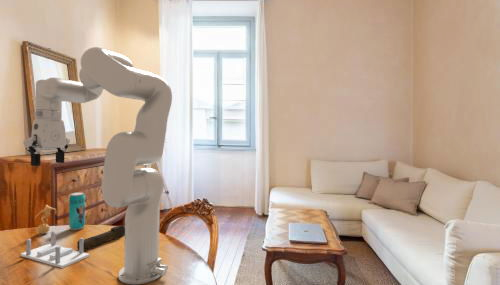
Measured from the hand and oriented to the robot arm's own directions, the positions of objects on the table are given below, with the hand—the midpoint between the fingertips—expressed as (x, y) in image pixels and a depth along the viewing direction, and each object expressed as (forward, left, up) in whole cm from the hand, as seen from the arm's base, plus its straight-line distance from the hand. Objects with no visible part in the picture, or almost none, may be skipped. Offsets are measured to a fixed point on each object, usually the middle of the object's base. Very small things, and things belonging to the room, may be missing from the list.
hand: (48, 164), depth 100 cm
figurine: (+13, -8, -30) cm, 34 cm away
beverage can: (+8, -18, -30) cm, 36 cm away
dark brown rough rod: (-14, -12, -30) cm, 35 cm away
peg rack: (-10, +4, -30) cm, 32 cm away
